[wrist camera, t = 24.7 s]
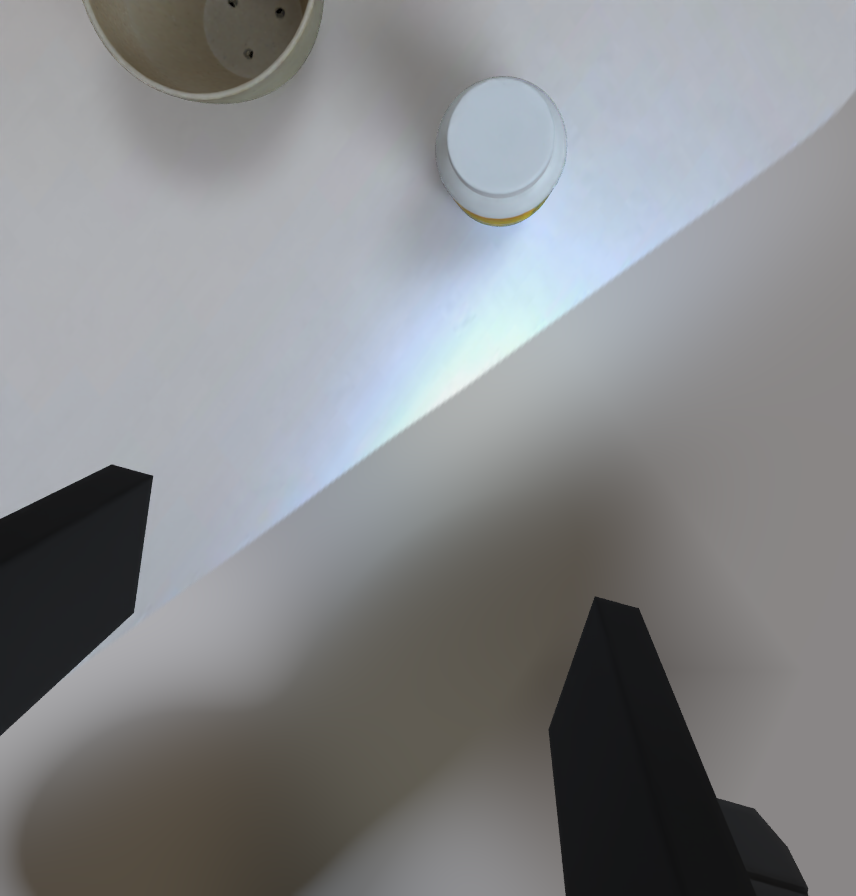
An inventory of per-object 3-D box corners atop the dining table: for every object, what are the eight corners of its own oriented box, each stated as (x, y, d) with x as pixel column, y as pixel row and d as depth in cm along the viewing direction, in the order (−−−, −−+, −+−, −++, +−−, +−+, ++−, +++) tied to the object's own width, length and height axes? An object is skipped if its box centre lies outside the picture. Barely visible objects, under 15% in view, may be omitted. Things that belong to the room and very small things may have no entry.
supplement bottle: (457, 105, 33) (440, 41, 24) (565, 122, 33) (590, 63, 24) (439, 219, 35) (417, 200, 26) (542, 236, 34) (557, 223, 25)
